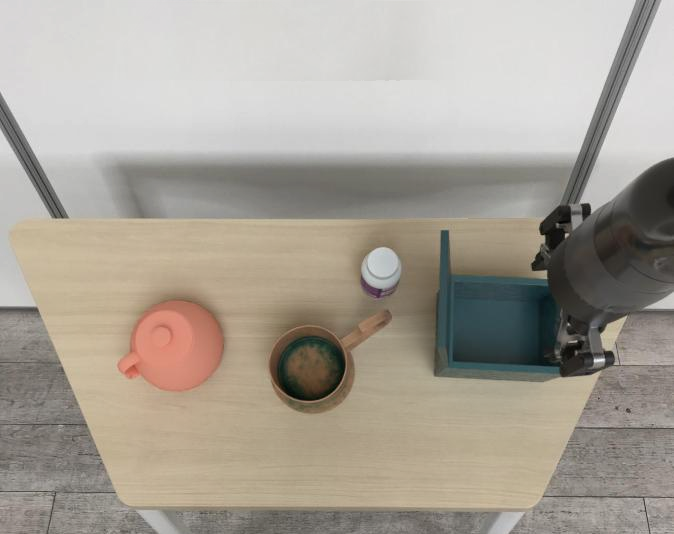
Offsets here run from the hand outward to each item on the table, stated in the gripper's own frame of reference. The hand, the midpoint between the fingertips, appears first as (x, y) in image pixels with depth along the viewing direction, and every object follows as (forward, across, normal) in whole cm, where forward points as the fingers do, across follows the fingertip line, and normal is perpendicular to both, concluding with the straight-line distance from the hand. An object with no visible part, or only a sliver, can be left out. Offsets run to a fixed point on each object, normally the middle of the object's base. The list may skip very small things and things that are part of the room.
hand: (547, 309), depth 60 cm
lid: (+7, +3, +8) cm, 11 cm away
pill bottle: (+25, +11, +14) cm, 31 cm away
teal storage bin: (+25, +2, 0) cm, 25 cm away
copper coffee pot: (+25, 0, +22) cm, 33 cm away
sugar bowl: (+25, +3, +43) cm, 50 cm away
